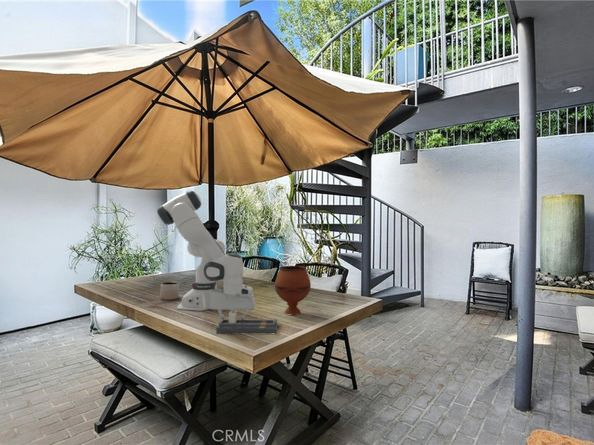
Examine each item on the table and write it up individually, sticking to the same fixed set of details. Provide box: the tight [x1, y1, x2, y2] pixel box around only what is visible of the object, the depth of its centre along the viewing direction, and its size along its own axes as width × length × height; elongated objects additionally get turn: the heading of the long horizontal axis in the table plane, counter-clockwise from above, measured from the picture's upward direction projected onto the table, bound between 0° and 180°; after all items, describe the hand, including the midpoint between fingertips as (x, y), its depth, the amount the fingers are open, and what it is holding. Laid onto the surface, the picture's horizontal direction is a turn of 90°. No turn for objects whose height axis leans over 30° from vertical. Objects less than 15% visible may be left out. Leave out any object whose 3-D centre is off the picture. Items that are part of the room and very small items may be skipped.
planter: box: [160, 281, 180, 301], centre depth 213 cm, size 11×11×10 cm
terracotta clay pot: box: [274, 265, 311, 316], centre depth 181 cm, size 19×19×25 cm
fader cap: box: [228, 310, 238, 323], centre depth 154 cm, size 3×4×5 cm
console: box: [215, 317, 278, 334], centre depth 154 cm, size 26×13×4 cm, turn 90°
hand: (232, 319), depth 154 cm, fingers open, 8 cm apart
